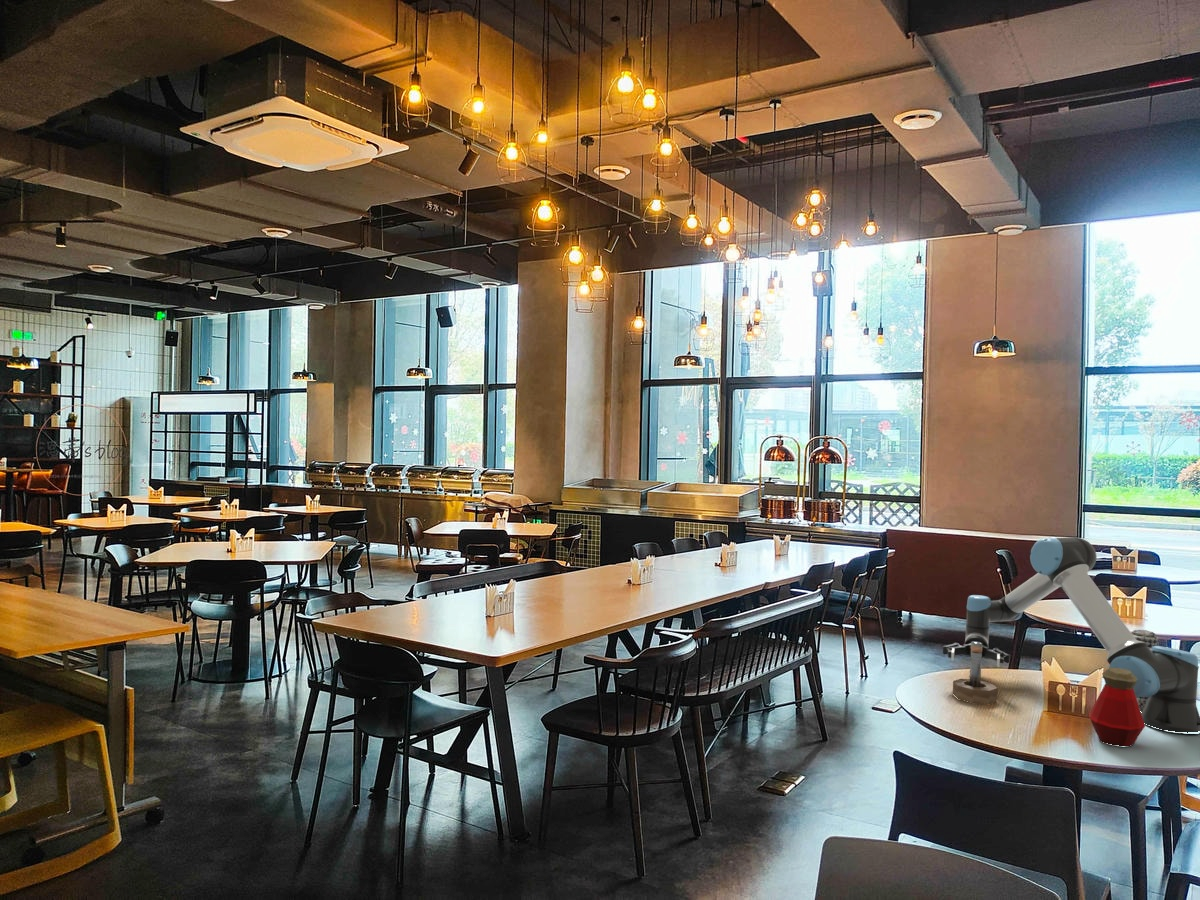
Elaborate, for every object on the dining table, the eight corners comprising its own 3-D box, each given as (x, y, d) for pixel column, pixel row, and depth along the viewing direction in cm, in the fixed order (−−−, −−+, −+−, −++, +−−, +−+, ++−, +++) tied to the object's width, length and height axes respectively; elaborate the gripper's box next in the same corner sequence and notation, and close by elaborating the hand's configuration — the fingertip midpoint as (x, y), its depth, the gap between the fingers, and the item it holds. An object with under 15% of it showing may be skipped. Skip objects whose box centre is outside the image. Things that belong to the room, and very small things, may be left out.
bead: (1000, 705, 263) (1001, 691, 263) (961, 702, 265) (961, 688, 264) (986, 693, 275) (987, 680, 275) (949, 691, 277) (949, 677, 276)
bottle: (1092, 728, 245) (1096, 660, 245) (1147, 740, 236) (1151, 669, 236) (1082, 742, 233) (1086, 670, 232) (1140, 755, 224) (1143, 681, 224)
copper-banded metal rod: (981, 700, 268) (983, 644, 268) (970, 699, 269) (973, 643, 268) (977, 697, 272) (980, 641, 271) (967, 696, 272) (969, 641, 272)
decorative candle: (1147, 706, 268) (1151, 628, 268) (1163, 715, 259) (1167, 635, 259) (1116, 704, 269) (1120, 626, 269) (1132, 713, 260) (1136, 633, 260)
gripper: (1016, 662, 285) (1017, 677, 266) (937, 651, 296) (933, 665, 276) (1017, 640, 285) (1018, 653, 266) (938, 630, 295) (934, 642, 276)
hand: (975, 659), depth 271 cm, fingers open, 13 cm apart
